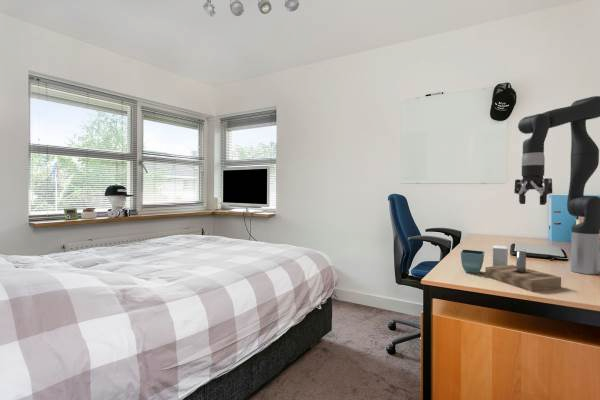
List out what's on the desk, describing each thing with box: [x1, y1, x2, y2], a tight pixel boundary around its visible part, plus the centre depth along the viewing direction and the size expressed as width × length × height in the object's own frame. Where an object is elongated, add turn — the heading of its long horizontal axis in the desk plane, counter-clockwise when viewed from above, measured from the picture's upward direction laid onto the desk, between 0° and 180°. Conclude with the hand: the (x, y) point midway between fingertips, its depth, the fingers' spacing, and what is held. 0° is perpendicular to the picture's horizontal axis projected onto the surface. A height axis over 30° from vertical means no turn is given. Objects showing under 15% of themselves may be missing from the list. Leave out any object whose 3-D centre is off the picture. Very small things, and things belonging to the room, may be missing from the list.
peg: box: [515, 250, 527, 274], centre depth 125 cm, size 3×3×12 cm
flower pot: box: [460, 248, 485, 274], centre depth 141 cm, size 9×9×9 cm
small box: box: [492, 245, 509, 267], centre depth 144 cm, size 8×6×10 cm
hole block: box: [484, 264, 562, 292], centre depth 125 cm, size 20×14×4 cm
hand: (532, 204), depth 131 cm, fingers open, 8 cm apart
